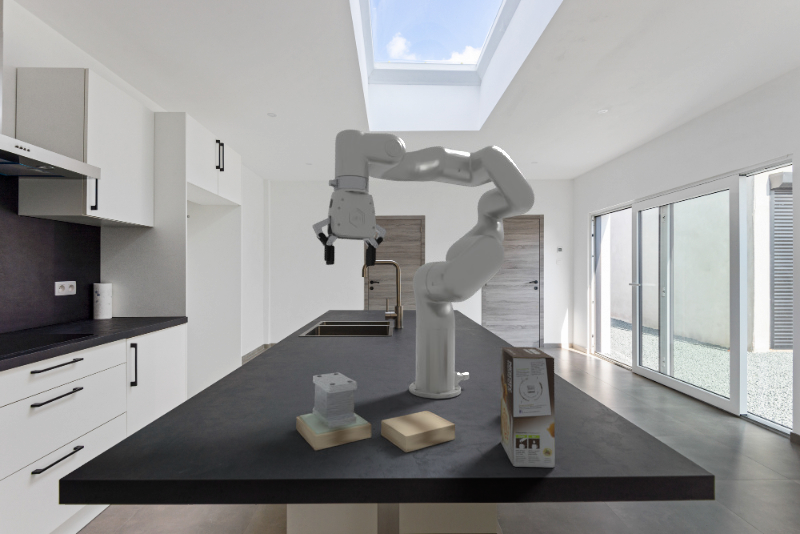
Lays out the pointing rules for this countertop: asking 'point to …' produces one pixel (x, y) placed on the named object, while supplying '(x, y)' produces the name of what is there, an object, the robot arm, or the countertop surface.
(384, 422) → the beige piece
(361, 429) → the stand
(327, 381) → the housing
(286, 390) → the countertop surface
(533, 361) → the coffee box
